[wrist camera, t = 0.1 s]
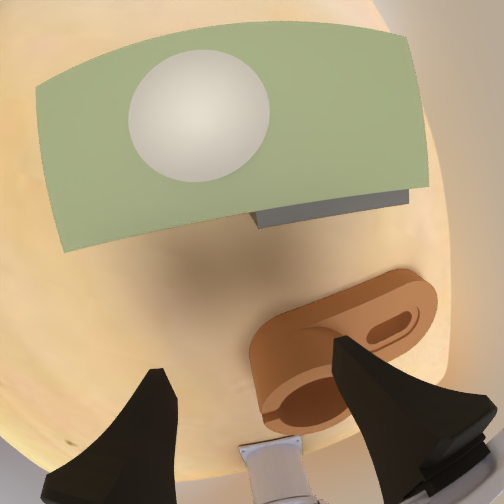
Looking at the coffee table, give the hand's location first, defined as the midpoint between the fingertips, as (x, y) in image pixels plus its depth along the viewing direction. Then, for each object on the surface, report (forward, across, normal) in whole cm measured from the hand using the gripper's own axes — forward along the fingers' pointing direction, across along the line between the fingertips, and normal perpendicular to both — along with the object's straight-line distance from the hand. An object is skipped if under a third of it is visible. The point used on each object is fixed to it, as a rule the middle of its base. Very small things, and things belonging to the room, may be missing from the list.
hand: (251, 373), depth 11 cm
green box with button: (+10, -2, -10) cm, 15 cm away
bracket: (+10, -9, +7) cm, 16 cm away
